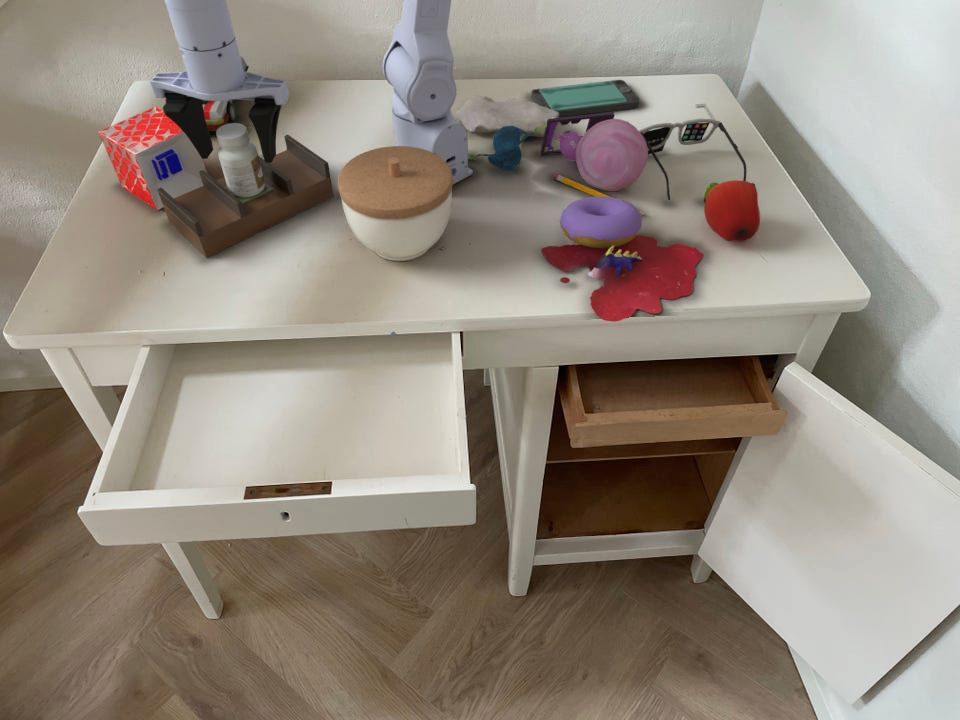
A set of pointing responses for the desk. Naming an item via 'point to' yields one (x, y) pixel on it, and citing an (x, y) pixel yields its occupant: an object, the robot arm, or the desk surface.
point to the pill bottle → (239, 161)
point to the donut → (600, 222)
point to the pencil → (582, 187)
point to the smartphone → (587, 98)
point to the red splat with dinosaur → (630, 274)
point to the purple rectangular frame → (569, 133)
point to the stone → (503, 115)
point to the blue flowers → (508, 146)
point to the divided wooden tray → (250, 201)
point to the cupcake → (611, 155)
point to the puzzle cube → (153, 156)
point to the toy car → (220, 109)
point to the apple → (732, 209)
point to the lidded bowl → (397, 200)
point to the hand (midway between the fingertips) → (239, 156)
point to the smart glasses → (684, 137)
